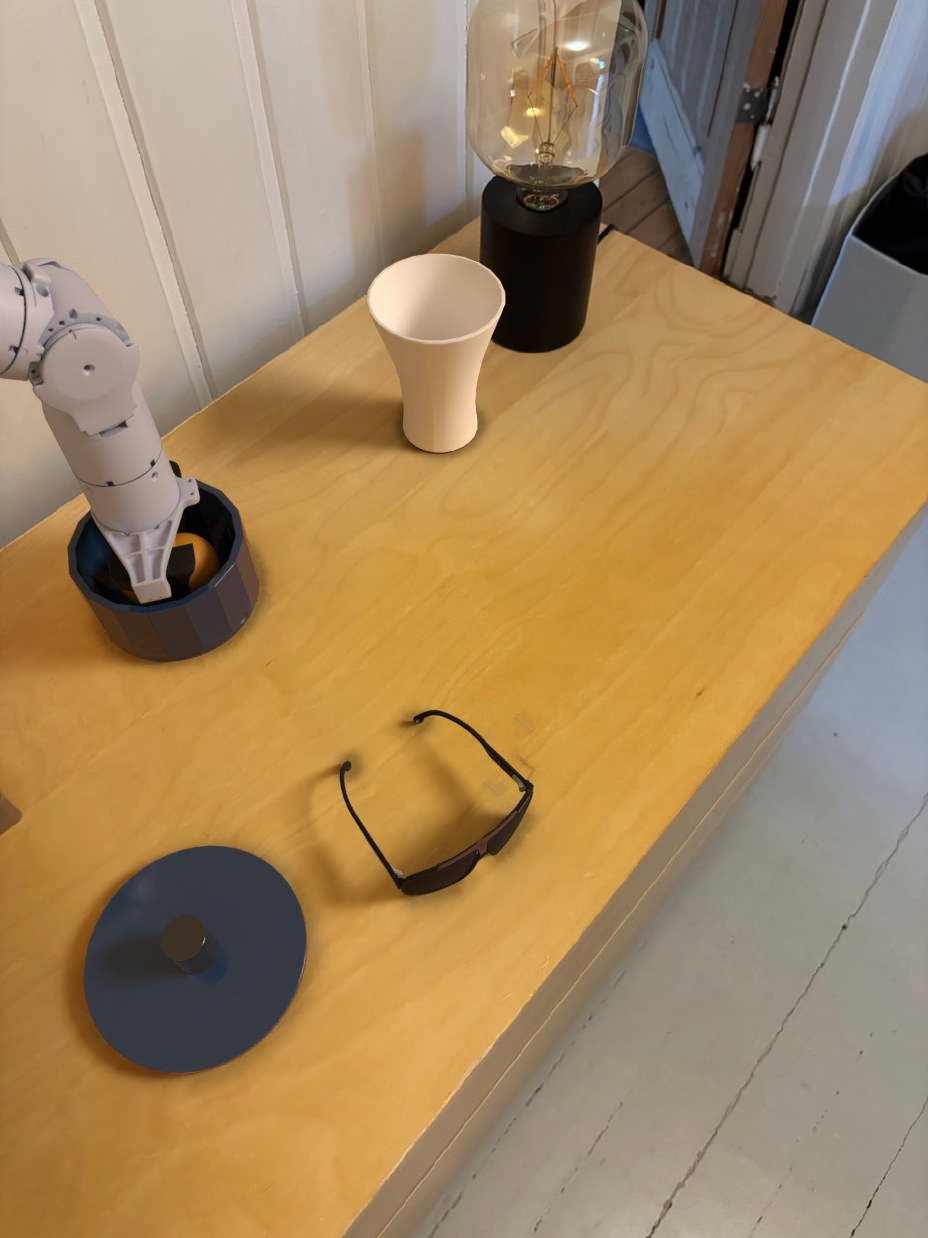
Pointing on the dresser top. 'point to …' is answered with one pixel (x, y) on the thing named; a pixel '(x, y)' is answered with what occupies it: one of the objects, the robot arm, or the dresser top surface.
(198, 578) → the orange banded oval part
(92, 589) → the pot
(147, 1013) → the lid
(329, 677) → the dresser top surface
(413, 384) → the cup
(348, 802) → the sunglasses
